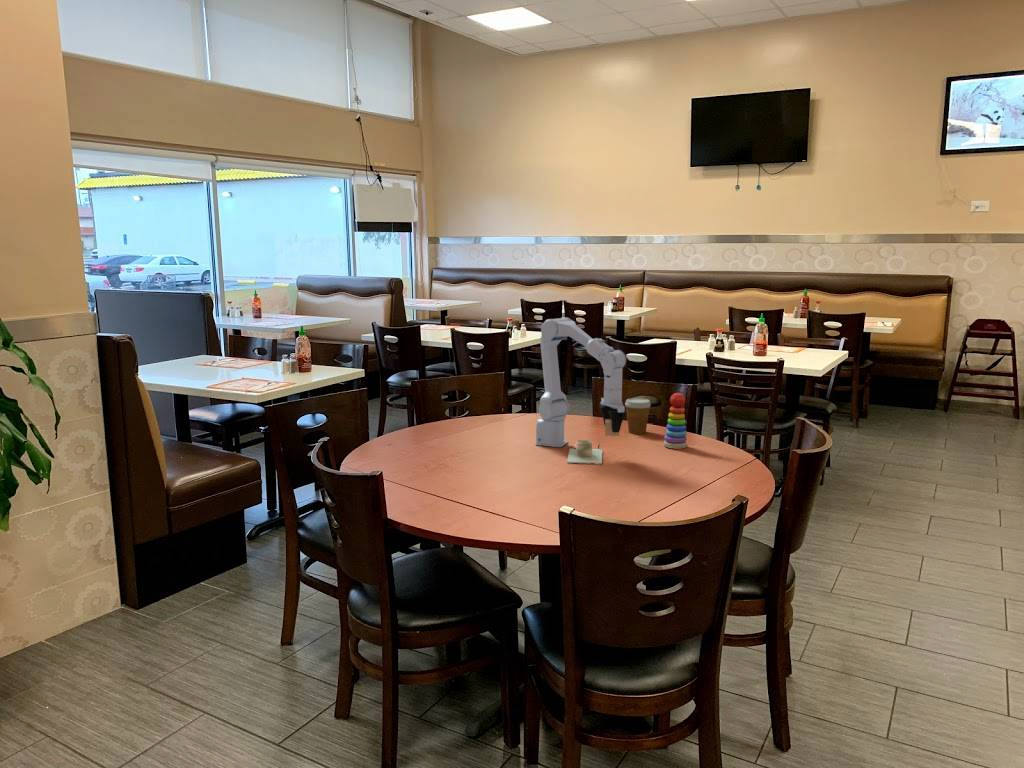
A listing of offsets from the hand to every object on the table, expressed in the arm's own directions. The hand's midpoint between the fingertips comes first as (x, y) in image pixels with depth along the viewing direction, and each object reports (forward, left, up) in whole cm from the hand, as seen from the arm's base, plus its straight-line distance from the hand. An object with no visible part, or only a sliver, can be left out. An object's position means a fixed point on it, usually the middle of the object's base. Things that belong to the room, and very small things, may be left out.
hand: (612, 429), depth 247 cm
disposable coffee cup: (0, +38, -10) cm, 39 cm away
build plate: (-8, -2, -9) cm, 13 cm away
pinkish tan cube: (0, 0, -2) cm, 2 cm away
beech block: (-8, -3, -9) cm, 12 cm away
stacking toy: (+17, +22, -10) cm, 29 cm away
